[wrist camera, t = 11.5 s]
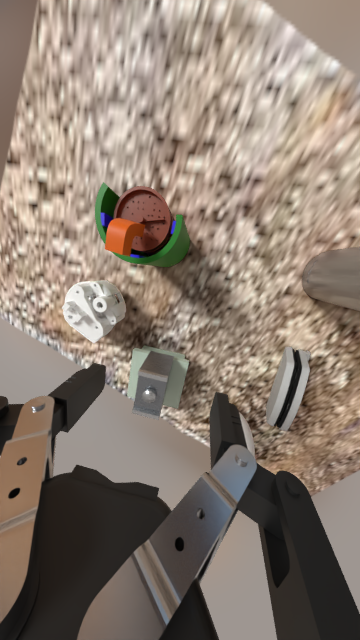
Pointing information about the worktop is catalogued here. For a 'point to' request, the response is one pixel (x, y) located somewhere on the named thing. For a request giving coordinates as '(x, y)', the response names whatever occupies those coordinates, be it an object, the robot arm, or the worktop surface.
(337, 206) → the worktop surface
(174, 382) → the stand
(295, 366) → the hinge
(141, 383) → the housing
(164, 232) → the motor
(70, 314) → the mechanical part
